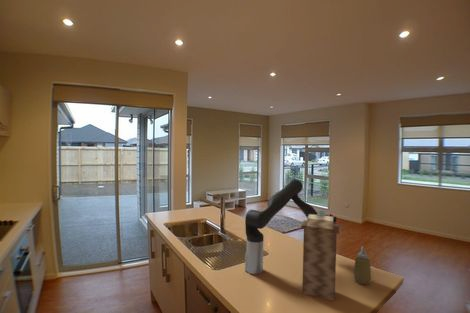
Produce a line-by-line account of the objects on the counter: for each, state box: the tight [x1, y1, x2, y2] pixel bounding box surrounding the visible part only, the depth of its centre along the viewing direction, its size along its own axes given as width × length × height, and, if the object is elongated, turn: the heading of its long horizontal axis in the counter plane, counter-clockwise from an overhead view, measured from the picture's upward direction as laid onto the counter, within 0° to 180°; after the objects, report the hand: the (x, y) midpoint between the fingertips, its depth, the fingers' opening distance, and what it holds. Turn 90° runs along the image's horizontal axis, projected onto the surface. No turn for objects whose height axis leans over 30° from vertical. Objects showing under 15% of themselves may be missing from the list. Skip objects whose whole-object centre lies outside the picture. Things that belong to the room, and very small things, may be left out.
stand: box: [301, 219, 340, 302], centre depth 112 cm, size 16×9×32 cm, turn 68°
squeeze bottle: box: [353, 246, 372, 285], centre depth 123 cm, size 8×8×18 cm
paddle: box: [306, 209, 334, 229], centre depth 116 cm, size 11×18×4 cm, turn 158°
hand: (321, 214), depth 122 cm, fingers open, 8 cm apart
